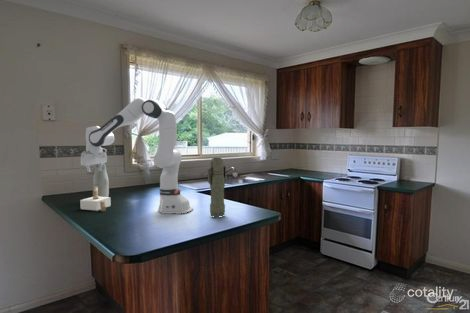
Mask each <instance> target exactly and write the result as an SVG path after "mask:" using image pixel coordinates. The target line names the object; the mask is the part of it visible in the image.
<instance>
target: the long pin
mask: <svg viewBox="0 0 470 313" xmlns="http://www.w3.org/2000/svg"><path fill="white" fill-rule="evenodd" d="M92 197H93V199H95V200H96V199H98V187H93V186H92Z"/></svg>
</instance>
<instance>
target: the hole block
mask: <svg viewBox="0 0 470 313" xmlns="http://www.w3.org/2000/svg"><path fill="white" fill-rule="evenodd" d="M79 201H80V206H79V207H80V210H87V211H99V210H100V211H101V207H100V202H101V201H105V204H106V208H108V207H111V204H112V203H111V202H112V200H111V196H110V197H109V196H108V197H100V196H98V199H96V200H95V199H93V196H91V197H87V198H83V199H80V200H79Z"/></svg>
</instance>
